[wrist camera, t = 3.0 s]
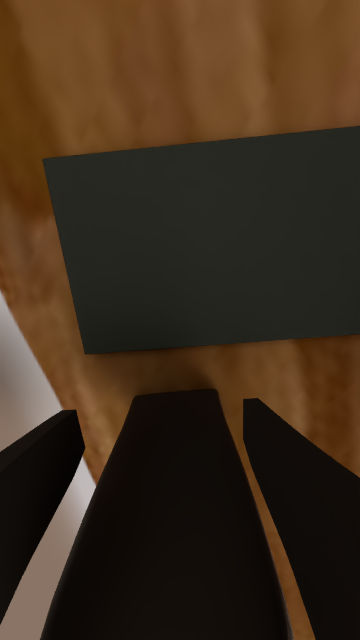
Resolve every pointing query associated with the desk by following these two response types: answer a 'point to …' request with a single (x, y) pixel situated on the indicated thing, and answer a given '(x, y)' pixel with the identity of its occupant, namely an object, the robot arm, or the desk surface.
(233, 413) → the desk surface
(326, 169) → the mat
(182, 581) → the battery charger
